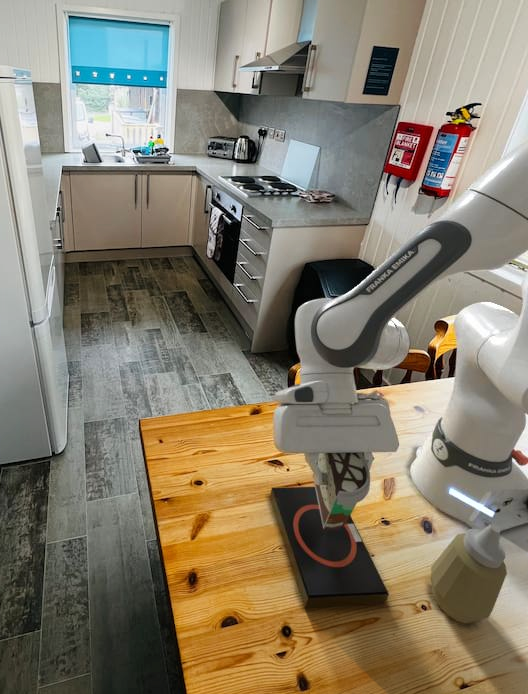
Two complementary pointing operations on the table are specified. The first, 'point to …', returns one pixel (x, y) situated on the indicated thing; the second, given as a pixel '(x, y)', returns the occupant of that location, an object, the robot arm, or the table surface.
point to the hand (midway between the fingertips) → (342, 484)
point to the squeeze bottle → (470, 575)
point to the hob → (325, 554)
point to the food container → (341, 486)
